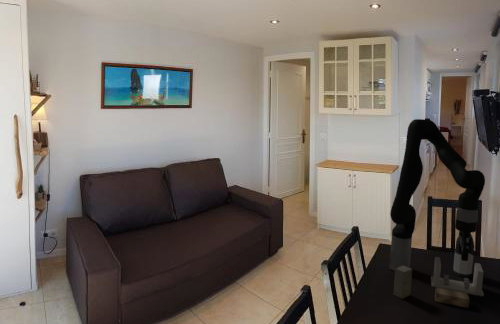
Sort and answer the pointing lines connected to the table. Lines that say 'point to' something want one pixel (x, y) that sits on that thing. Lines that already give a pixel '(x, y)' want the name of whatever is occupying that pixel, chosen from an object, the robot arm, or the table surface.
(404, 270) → the skincare box
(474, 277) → the frame
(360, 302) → the table surface
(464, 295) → the brown wooden block
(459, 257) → the wine bottle
